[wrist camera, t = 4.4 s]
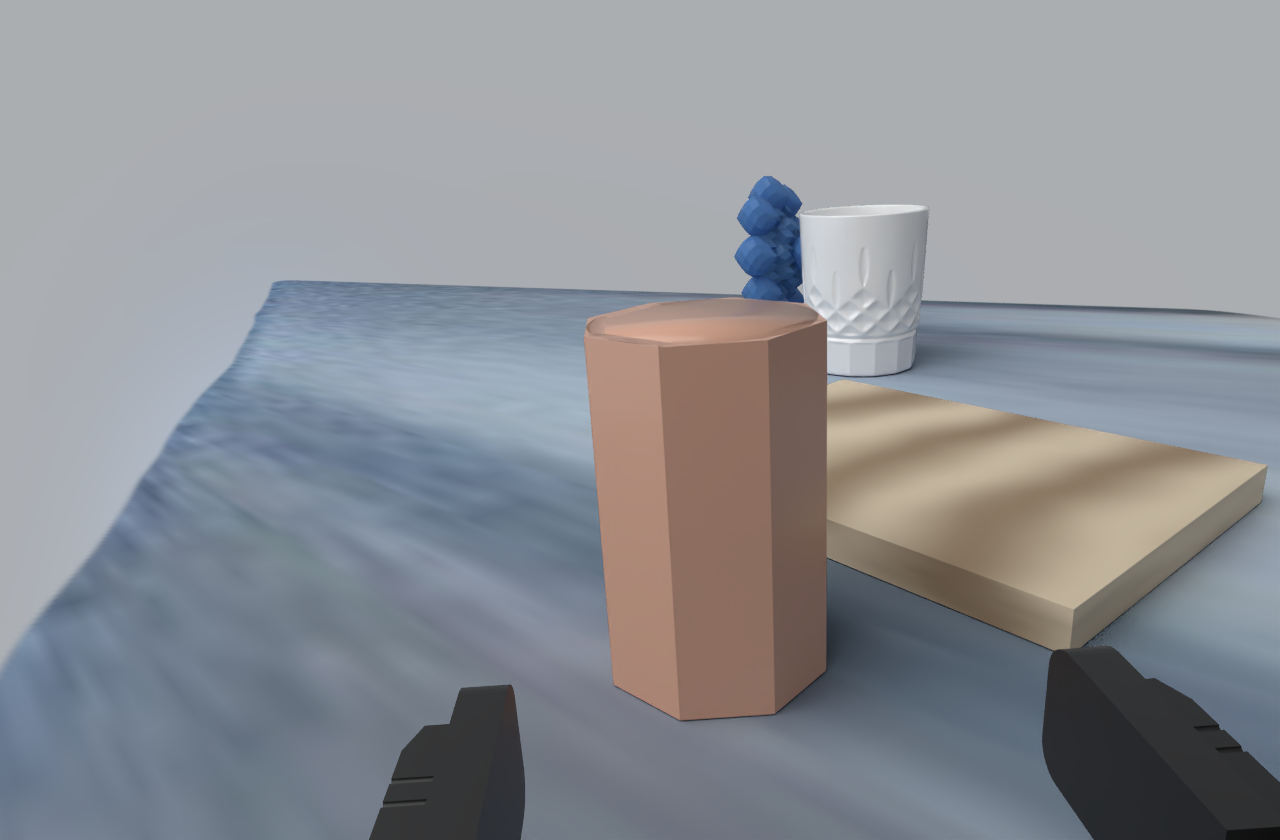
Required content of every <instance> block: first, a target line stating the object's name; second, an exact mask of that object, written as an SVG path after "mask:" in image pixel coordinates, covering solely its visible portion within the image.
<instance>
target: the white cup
mask: <svg viewBox="0 0 1280 840" xmlns="http://www.w3.org/2000/svg"><path fill="white" fill-rule="evenodd" d="M928 218H929V207H927V206H921V205H862V206H846V207H833V208H823V209H815V210H809V211H804V212H801V213H800V214H799V222H800V241H801V262H802V283H803V296H804V303H806V304H807V305H809V306H810V307H811V308H812V309H814V310H815V311H816V312H817V313H818V314H820V315H821V316H822V317H823V318H825V319H826V320H827V374H834V375H842V376H863V377H866V376H879V375H883V376H884V375H888V374H895V373H898V372H902V371H904V370H907V369H910V368H911V366H912V364H913V363H914V360H915V347H916V333H917V330H916V327H917V326H918V323H919V318H920V308H921V298H922V290H923V279H924V266H925V254H926V241H927V229H928Z"/></svg>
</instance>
